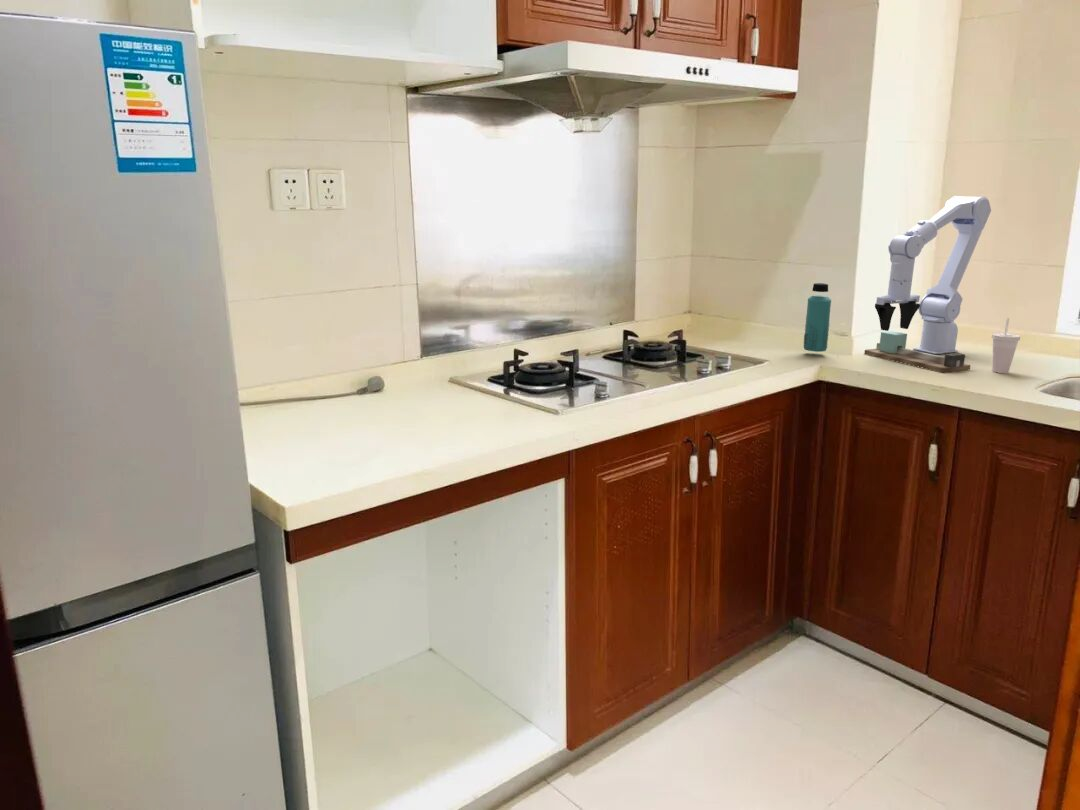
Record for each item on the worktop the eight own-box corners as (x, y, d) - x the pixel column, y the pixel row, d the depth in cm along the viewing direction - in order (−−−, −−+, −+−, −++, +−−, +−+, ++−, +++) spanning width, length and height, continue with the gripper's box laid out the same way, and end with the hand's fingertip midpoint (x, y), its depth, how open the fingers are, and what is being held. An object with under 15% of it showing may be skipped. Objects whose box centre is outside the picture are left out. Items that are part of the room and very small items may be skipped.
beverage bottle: (831, 356, 229) (839, 284, 224) (811, 357, 227) (818, 285, 222) (817, 351, 235) (824, 281, 230) (797, 353, 233) (803, 282, 228)
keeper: (878, 350, 232) (881, 332, 230) (890, 349, 234) (892, 331, 232) (893, 353, 227) (895, 335, 226) (904, 352, 229) (907, 334, 228)
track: (864, 354, 233) (866, 339, 232) (889, 351, 237) (891, 336, 236) (943, 373, 210) (946, 356, 209) (970, 369, 215) (972, 353, 214)
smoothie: (981, 371, 213) (990, 317, 209) (993, 368, 217) (1001, 315, 213) (1007, 375, 208) (1016, 321, 205) (1019, 372, 212) (1028, 318, 208)
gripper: (893, 282, 219) (887, 333, 222) (931, 280, 225) (924, 329, 228) (872, 279, 225) (866, 329, 228) (910, 278, 231) (903, 325, 234)
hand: (894, 329), depth 229 cm, fingers open, 7 cm apart
